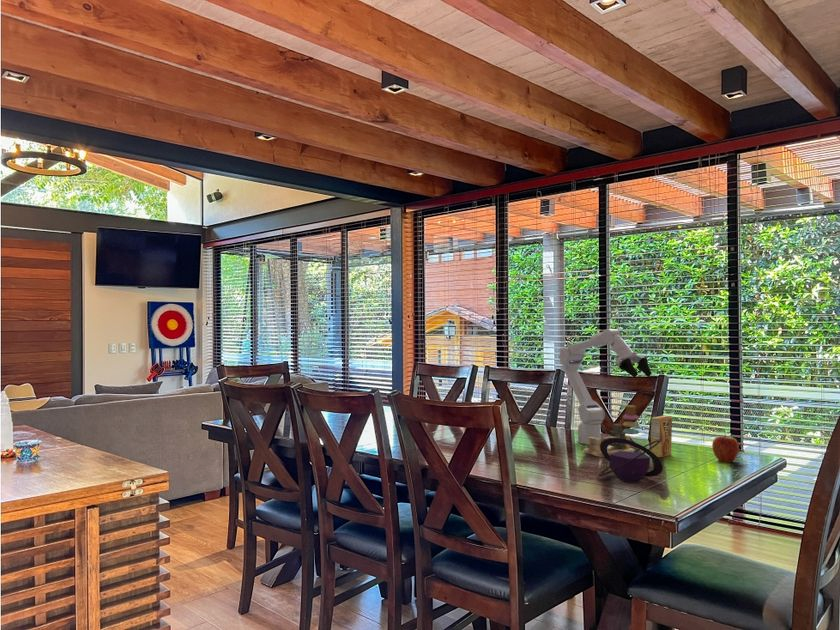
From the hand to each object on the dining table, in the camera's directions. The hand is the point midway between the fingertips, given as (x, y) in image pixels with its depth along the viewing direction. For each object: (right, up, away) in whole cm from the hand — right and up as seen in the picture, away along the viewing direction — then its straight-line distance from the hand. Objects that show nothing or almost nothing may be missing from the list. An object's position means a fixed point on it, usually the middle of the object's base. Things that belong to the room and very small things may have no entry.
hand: (643, 375), depth 245 cm
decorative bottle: (-18, -32, -39) cm, 53 cm away
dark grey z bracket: (-8, -30, +8) cm, 32 cm away
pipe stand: (-12, -32, +6) cm, 34 cm away
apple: (+29, -32, -8) cm, 44 cm away
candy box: (+8, -32, +1) cm, 33 cm away
